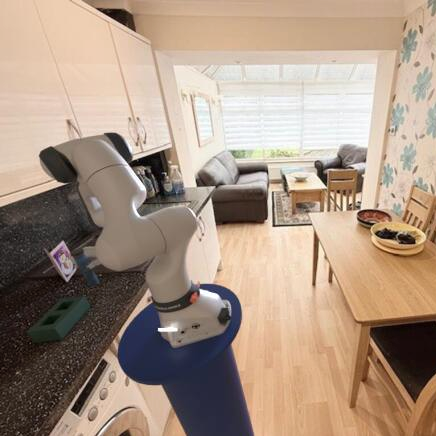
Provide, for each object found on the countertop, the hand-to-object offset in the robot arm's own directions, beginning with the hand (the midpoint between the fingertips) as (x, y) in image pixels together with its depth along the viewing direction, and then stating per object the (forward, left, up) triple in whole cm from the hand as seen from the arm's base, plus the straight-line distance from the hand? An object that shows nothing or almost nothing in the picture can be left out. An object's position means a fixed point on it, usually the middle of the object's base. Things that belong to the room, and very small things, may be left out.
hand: (82, 267), depth 87 cm
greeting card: (+24, -17, -14) cm, 33 cm away
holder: (+4, +12, -14) cm, 19 cm away
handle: (0, -1, -9) cm, 9 cm away
